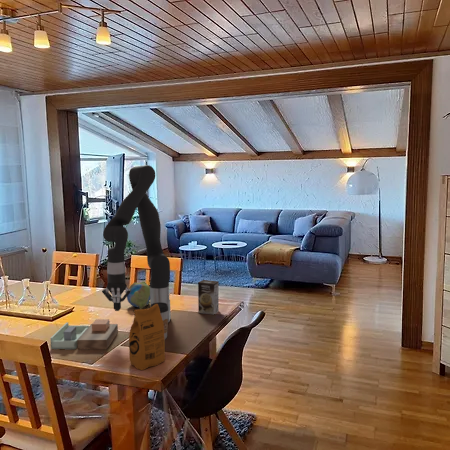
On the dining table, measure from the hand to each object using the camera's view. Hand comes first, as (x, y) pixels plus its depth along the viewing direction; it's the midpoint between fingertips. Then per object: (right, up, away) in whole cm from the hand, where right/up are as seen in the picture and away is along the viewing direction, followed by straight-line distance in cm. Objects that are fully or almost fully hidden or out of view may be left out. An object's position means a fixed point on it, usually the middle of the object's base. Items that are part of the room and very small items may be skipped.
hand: (117, 310), depth 188 cm
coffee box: (+39, -8, +33) cm, 51 cm away
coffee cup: (+19, -12, -1) cm, 22 cm away
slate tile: (-16, -9, -7) cm, 20 cm away
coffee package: (+18, -15, -24) cm, 34 cm away
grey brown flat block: (-7, -13, -3) cm, 15 cm away
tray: (-19, -13, -2) cm, 23 cm away
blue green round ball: (+3, -7, +43) cm, 44 cm away
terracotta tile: (-7, -8, +1) cm, 11 cm away
